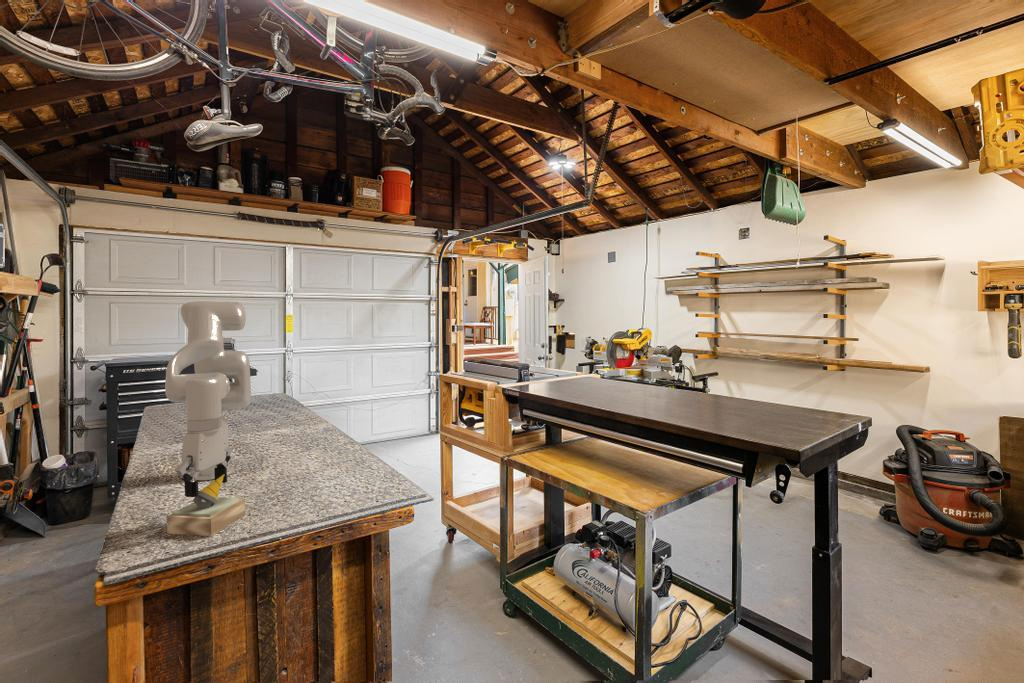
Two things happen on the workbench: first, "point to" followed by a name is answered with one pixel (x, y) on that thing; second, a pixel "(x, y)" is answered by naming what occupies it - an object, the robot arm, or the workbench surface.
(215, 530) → the base block
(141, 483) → the workbench surface
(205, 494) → the drill bit
